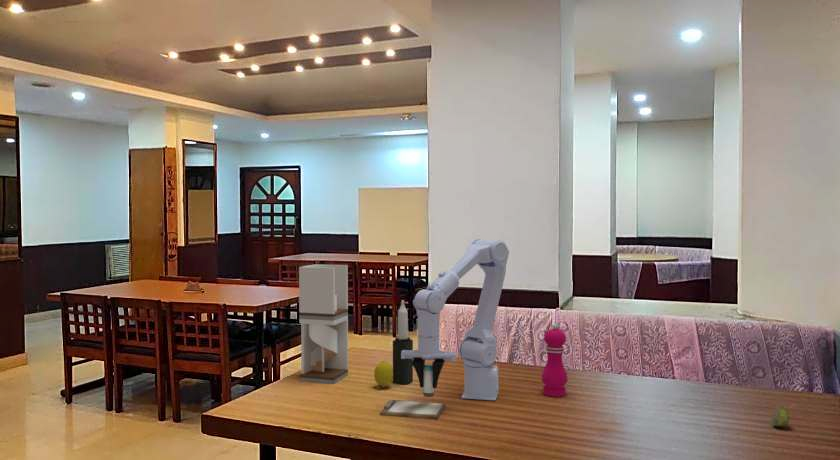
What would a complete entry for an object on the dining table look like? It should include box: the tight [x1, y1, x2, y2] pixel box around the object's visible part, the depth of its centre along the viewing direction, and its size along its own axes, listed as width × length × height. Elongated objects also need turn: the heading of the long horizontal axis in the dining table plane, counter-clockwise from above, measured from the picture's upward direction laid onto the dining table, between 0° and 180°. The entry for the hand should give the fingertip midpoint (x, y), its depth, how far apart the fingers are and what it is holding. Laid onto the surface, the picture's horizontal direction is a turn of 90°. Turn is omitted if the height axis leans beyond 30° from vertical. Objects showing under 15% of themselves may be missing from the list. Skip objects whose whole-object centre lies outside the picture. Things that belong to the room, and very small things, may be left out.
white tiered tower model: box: [298, 264, 349, 385], centre depth 192 cm, size 11×11×35 cm
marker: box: [422, 364, 435, 398], centre depth 162 cm, size 3×3×8 cm
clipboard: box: [379, 399, 447, 420], centre depth 161 cm, size 15×11×1 cm
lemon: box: [373, 360, 393, 389], centre depth 182 cm, size 6×6×8 cm
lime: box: [770, 405, 790, 428], centre depth 148 cm, size 4×5×5 cm
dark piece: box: [392, 299, 414, 386], centre depth 188 cm, size 5×5×25 cm
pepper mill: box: [541, 323, 568, 398], centre depth 175 cm, size 7×7×20 cm
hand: (428, 387), depth 162 cm, fingers closed on marker, 3 cm apart
